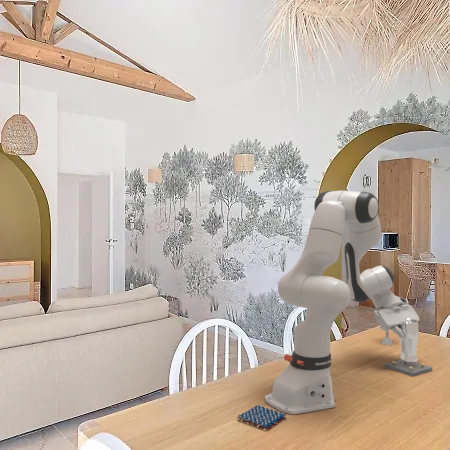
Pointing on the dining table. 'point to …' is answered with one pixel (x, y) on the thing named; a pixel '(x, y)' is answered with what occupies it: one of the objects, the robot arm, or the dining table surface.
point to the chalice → (387, 339)
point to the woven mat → (261, 417)
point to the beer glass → (409, 340)
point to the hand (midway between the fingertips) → (410, 335)
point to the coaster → (408, 367)
